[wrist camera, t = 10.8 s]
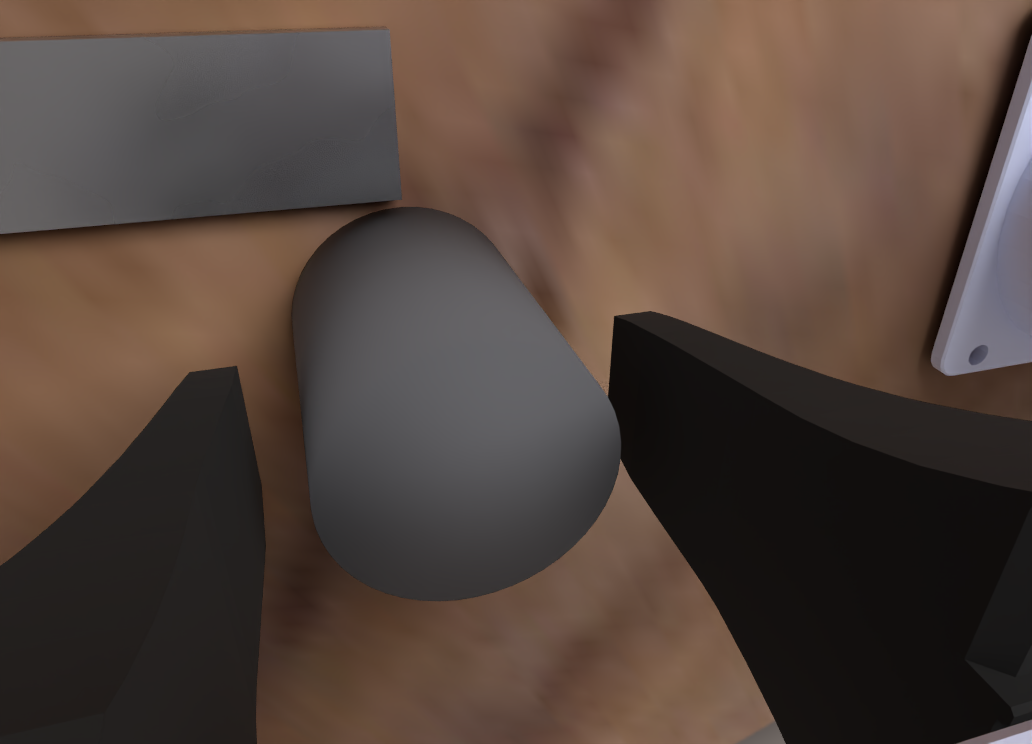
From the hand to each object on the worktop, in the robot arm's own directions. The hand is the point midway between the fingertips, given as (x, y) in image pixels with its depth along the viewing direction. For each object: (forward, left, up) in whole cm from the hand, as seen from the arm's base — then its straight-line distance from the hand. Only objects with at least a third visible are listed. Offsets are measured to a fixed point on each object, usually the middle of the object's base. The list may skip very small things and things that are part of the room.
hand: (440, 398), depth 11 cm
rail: (+6, -4, -3) cm, 7 cm away
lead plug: (0, 0, -3) cm, 3 cm away
